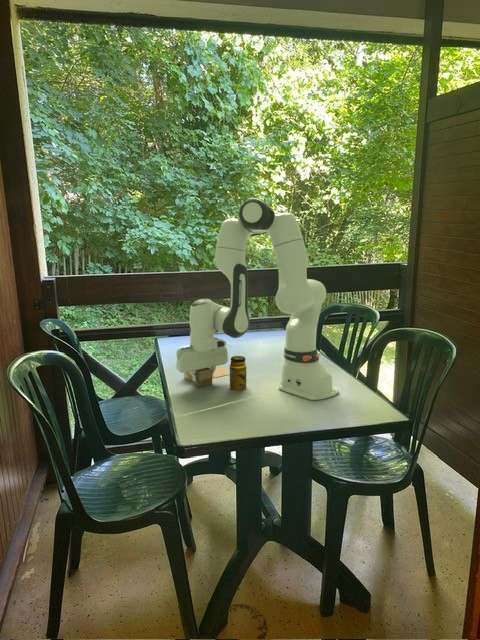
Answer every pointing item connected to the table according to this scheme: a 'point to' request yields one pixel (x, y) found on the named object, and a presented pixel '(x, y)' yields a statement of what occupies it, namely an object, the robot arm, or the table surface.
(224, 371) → the coaster
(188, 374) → the oak block
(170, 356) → the table surface
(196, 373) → the walnut block
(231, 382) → the condiment
